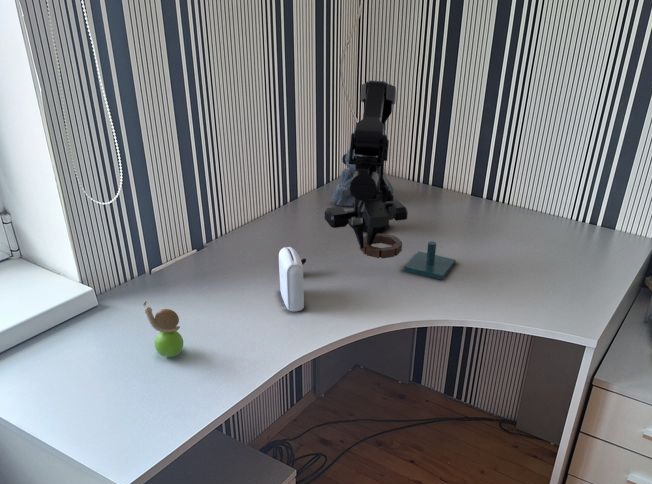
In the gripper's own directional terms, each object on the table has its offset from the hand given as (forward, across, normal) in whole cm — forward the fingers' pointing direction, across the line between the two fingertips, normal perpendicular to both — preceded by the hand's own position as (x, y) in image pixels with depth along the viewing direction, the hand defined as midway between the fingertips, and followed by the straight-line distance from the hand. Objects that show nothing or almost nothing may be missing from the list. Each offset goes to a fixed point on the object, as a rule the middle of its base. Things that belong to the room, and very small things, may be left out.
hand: (365, 247), depth 164 cm
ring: (+1, +4, 0) cm, 4 cm away
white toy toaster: (+8, -20, -7) cm, 23 cm away
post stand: (+8, +17, -1) cm, 19 cm away
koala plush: (+8, +17, +48) cm, 51 cm away
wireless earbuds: (+8, -16, +4) cm, 18 cm away
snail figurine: (+8, -49, -20) cm, 54 cm away
